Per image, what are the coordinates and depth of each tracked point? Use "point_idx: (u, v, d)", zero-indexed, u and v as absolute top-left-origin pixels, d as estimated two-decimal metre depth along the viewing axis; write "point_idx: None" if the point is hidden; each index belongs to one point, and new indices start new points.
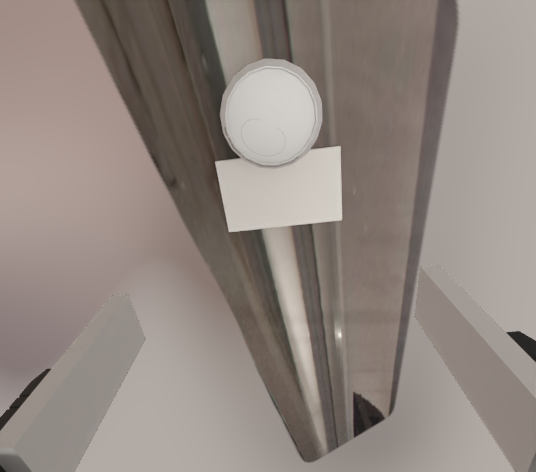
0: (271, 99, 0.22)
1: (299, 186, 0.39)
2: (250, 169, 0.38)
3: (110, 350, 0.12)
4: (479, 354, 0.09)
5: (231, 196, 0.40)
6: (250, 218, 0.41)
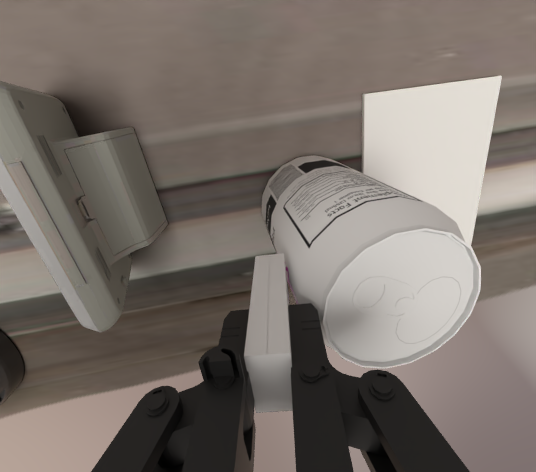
0: (372, 305, 0.12)
1: (419, 159, 0.24)
2: None
3: None
4: None
5: None
6: None
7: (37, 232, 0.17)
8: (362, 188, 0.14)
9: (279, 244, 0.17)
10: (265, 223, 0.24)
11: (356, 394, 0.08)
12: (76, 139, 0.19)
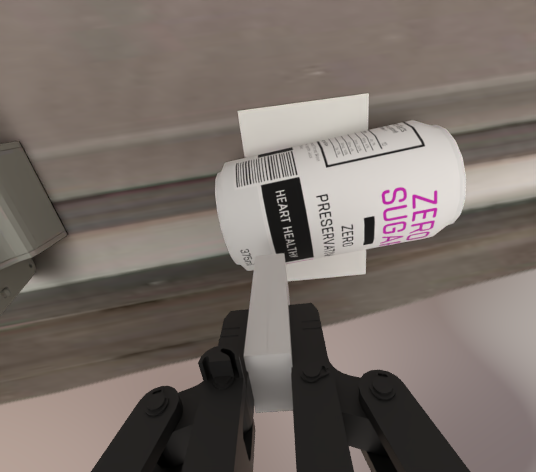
0: None
1: None
2: None
3: None
4: None
5: (311, 267, 0.29)
6: None
7: None
8: None
9: (356, 191, 0.17)
10: (255, 230, 0.18)
11: (357, 394, 0.08)
12: None
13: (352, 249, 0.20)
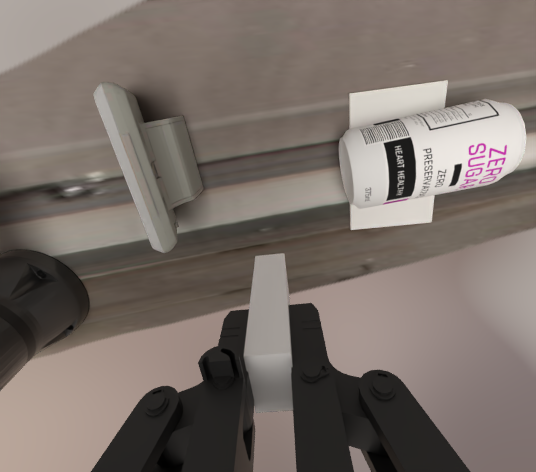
0: None
1: None
2: None
3: None
4: None
5: (389, 216, 0.37)
6: (419, 198, 0.36)
7: (133, 179, 0.26)
8: None
9: (451, 146, 0.26)
10: (378, 173, 0.27)
11: (357, 394, 0.08)
12: (152, 122, 0.29)
13: (439, 190, 0.29)
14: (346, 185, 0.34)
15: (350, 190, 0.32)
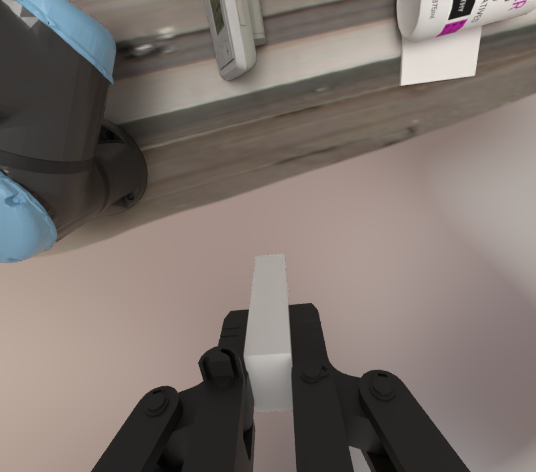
0: None
1: None
2: (414, 47, 0.40)
3: None
4: None
5: (437, 70, 0.41)
6: (465, 49, 0.40)
7: None
8: None
9: None
10: None
11: (357, 394, 0.08)
12: None
13: (495, 7, 0.32)
14: (403, 27, 0.37)
15: (409, 26, 0.36)
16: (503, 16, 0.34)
